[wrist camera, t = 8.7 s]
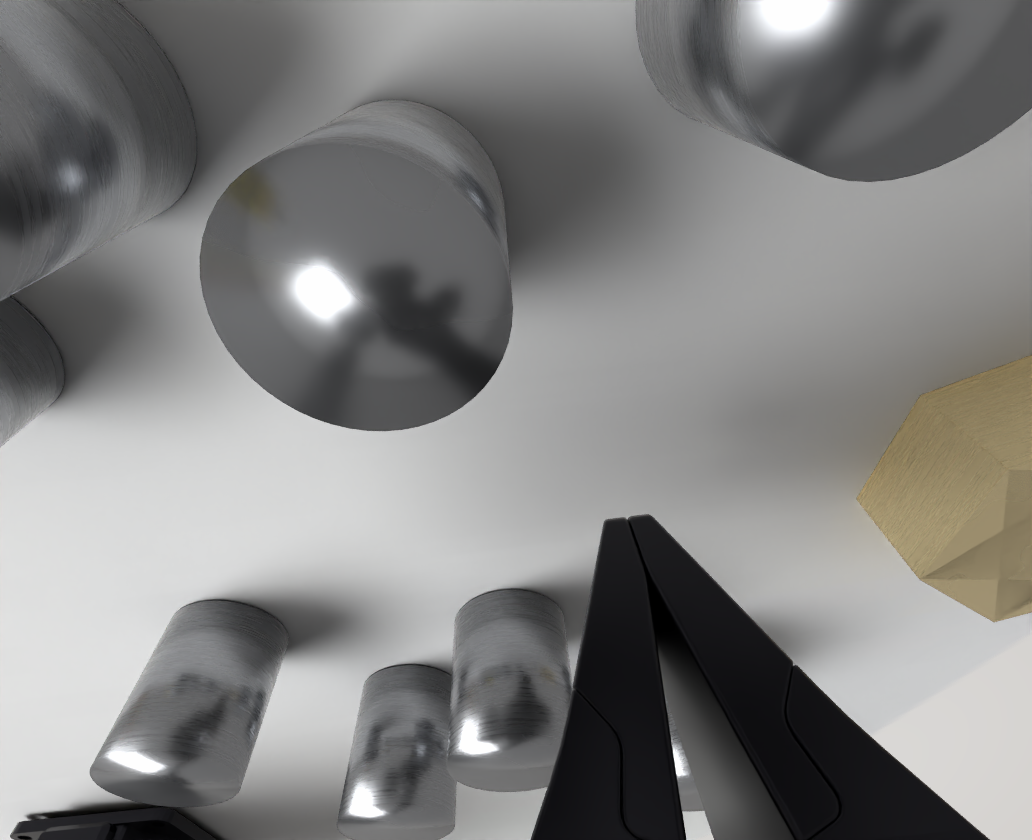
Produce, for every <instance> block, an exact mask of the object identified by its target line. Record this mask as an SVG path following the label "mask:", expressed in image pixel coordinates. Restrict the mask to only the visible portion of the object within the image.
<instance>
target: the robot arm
mask: <svg viewBox="0 0 1032 840" xmlns="http://www.w3.org/2000/svg"><path fill="white" fill-rule="evenodd" d="M664 693H665V694H664ZM665 696H666V699H667V702H668V705H669V708H670V711H671V714H672V717H673V719H674V722H675V725H676V728H677V731H678V734H679V737H680V740H681V743H682V746H683V749H684V752H685V755H686V758H687V761H688V764H689V767H690V770H691V773H692V776H693V778H694V781H695V784H696V787H697V790H698V793H699V796H700V799H701V802H702V805H703V808H704V811H705V814H706V817H707V820H708V823H709V826H710V829H711V832H712V835H713V837H714V840H990V839H988V838H987V837H986V836H985V835H984V834H982V833H981V832H980V831H979V830H978V829H976V828H975V827H974V826H973V825H972V824H971V823H970V822H968V821H967V820H966V819H965V818H964V817H963V816H961V815H960V814H959V813H958V812H957V811H956V810H954V809H953V808H952V807H951V806H950V805H949V804H948V803H946V802H945V801H944V800H943V799H942V798H941V797H939V796H938V795H937V794H936V793H935V792H934V791H933V790H931V789H930V788H929V787H928V786H927V785H926V784H925V783H923V782H922V781H921V780H920V779H919V778H918V777H916V776H915V775H914V774H913V773H912V772H911V771H909V770H908V769H907V768H906V767H905V766H904V765H903V764H901V763H900V762H899V761H898V760H897V759H896V758H894V757H893V756H892V755H891V754H890V753H888V752H887V751H886V750H885V749H884V748H883V747H881V745H879V744H878V743H877V742H876V741H875V740H874V739H873V738H872V737H871V736H870V735H868V734H867V733H866V732H865V731H864V730H863V729H862V728H861V727H860V726H858V725H857V724H856V723H855V722H854V721H853V720H852V719H851V718H849V717H848V716H847V715H846V714H845V713H844V712H843V711H842V710H841V709H840V708H839V707H838V706H837V705H836V704H835V703H834V702H833V701H832V700H831V699H830V698H829V697H828V696H827V695H826V694H825V693H824V692H823V691H822V690H821V689H820V688H819V687H818V686H817V685H816V684H815V683H814V682H813V681H812V680H811V679H810V678H809V677H808V676H807V675H806V674H805V673H804V672H803V671H802V670H801V669H800V668H799V667H798V666H797V665H794V666H793V661H792V660H791V659H790V658H789V657H788V656H787V655H786V653H785V652H784V651H783V650H782V649H781V648H780V647H779V646H778V645H777V644H776V643H775V642H774V641H773V640H772V639H771V638H770V637H769V636H768V635H767V634H766V633H765V632H764V631H763V630H762V629H761V628H760V627H759V626H758V625H757V624H756V623H755V622H754V621H753V619H752V618H751V617H750V616H749V615H748V614H747V613H746V612H745V611H744V610H743V609H742V608H741V607H740V606H739V605H738V604H737V603H736V602H735V601H734V600H733V599H732V598H731V597H730V596H729V595H728V594H727V593H726V592H725V591H724V590H723V589H722V588H721V586H720V585H719V584H718V583H717V582H716V581H715V580H714V579H713V578H712V577H711V576H710V575H709V574H708V573H707V572H706V571H705V570H704V569H703V568H702V567H701V566H700V565H699V564H698V563H697V562H696V561H695V560H694V559H693V558H692V557H691V556H690V555H689V554H688V552H687V551H686V550H685V549H684V548H683V547H682V546H681V545H680V544H679V543H678V542H677V541H676V540H675V539H674V538H673V537H672V536H671V535H670V534H669V533H668V532H667V531H666V530H665V529H664V528H663V527H662V526H661V525H660V524H659V523H658V522H657V521H656V520H655V518H653V517H652V516H651V515H649V514H645V515H637V516H631V517H629V518H628V520H627V519H626V518H624V517H621V518H613V519H607V520H605V521H604V524H603V529H602V534H601V540H600V545H599V550H598V555H597V561H596V566H595V571H594V576H593V582H592V587H591V592H590V597H589V603H588V608H587V613H586V619H585V624H584V629H583V634H582V640H581V645H580V650H579V655H578V661H577V666H576V671H575V676H574V682H573V690H572V691H571V696H570V701H569V707H568V712H567V717H566V721H565V725H564V730H563V734H562V739H561V743H560V747H559V751H558V754H557V758H556V761H555V764H554V768H553V771H552V775H551V778H550V782H549V785H548V788H547V791H546V794H545V797H544V800H543V803H542V806H541V809H540V812H539V815H538V818H537V821H536V825H535V828H534V831H533V834H532V837H531V840H686V834H685V828H684V821H683V814H682V808H681V801H680V794H679V787H678V781H677V774H676V767H675V761H674V754H673V747H672V741H671V734H670V727H669V721H668V714H667V707H666V701H665ZM10 837H11V838H12V839H14V840H216V839H215V838H213V837H212V836H211V835H209V834H208V833H206V832H205V831H203V830H202V829H201V828H199V827H198V826H196V825H195V824H193V823H192V822H190V821H189V820H188V819H186V818H185V817H183V816H182V815H180V814H179V813H178V812H176V811H174V810H172V809H168V808H149V809H139V810H129V811H119V812H110V813H100V814H90V815H80V816H70V817H60V818H51V819H41V820H31V821H22V822H19V823H17V825H16V827H15V828H14V830H13V832H12V833H11V835H10Z"/></svg>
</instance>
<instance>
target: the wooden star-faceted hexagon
mask: <svg viewBox="0 0 1032 840" xmlns="http://www.w3.org/2000/svg"><path fill="white" fill-rule="evenodd" d="M857 501H858V502H859V503H860V505H861V506H862V507H863V508H864V510H865V511H866V512H867V513H868V515H869V516H870V517H871V519H872V520H873V521H874V522H875V524H876V525H877V526H878V527H879V529H880V530H881V531H882V532H883V534H884V535H885V536H886V538H887V539H888V540H889V541H890V543H891V544H892V545H893V546H894V548H895V549H896V550H897V552H898V553H899V554H900V555H901V557H902V558H903V559H904V560H905V562H906V563H907V564H908V566H909V567H910V568H911V569H912V571H913V572H914V573H915V574H916V576H917V577H918V578H919V579H920V580H921V581H923V582H925V583H927V584H928V585H930V586H932V587H933V588H935V589H937V590H939V591H940V592H942V593H944V594H946V595H947V596H949V597H951V598H953V599H954V600H956V601H958V602H960V603H961V604H963V605H965V606H967V607H968V608H970V609H972V610H973V611H975V612H977V613H979V614H980V615H982V616H984V617H986V618H987V619H989V620H991V621H993V622H997V621H1001V620H1004V619H1008V618H1012V617H1016V616H1020V615H1023V614H1027V613H1031V612H1032V355H1030V356H1027V357H1025V358H1022V359H1019V360H1016V361H1014V362H1011V363H1008V364H1005V365H1003V366H1000V367H997V368H994V369H992V370H989V371H986V372H983V373H981V374H978V375H975V376H972V377H969V378H967V379H964V380H961V381H958V382H956V383H953V384H950V385H947V386H945V387H942V388H939V389H936V390H934V391H931V392H928V393H925V394H923V395H920V397H919V398H918V400H917V401H916V403H915V405H914V406H913V408H912V409H911V411H910V413H909V414H908V416H907V418H906V419H905V421H904V422H903V424H902V426H901V427H900V429H899V431H898V432H897V434H896V435H895V437H894V439H893V440H892V442H891V444H890V445H889V447H888V448H887V450H886V452H885V453H884V455H883V456H882V458H881V460H880V461H879V463H878V465H877V466H876V468H875V469H874V471H873V473H872V474H871V476H870V478H869V479H868V481H867V482H866V484H865V486H864V487H863V489H862V491H861V492H860V494H859V495H858V497H857Z"/></svg>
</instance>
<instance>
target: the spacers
mask: <svg viewBox="0 0 1032 840" xmlns="http://www.w3.org/2000/svg"><path fill="white" fill-rule="evenodd" d="M636 26H637V35H638V41H639V47H640V50H641V54H642V57H643V61H644V64H645V66H646V68H647V71H648V73H649V75H650V78H651V79H652V81H653V83H654V84H655V86H656V87H657V89H658V91H659V92H660V93H661V94H662V95H663V97H664V98H665V99H666V100H667V101H668V102H669V103H670V104H671V105H672V106H673V107H675V108H676V109H677V110H678V111H680V112H681V113H683V114H685V115H686V116H688V117H690V118H692V119H694V120H697V121H699V122H701V123H704V124H706V125H708V126H711V127H713V128H715V129H718V130H720V131H722V132H725V133H727V134H729V135H732V136H734V137H737V138H739V139H741V140H744V141H746V142H748V143H751V144H753V145H755V146H758V147H760V148H762V149H765V150H767V151H769V152H772V153H774V154H776V155H779V156H781V157H784V158H786V159H788V160H791V161H793V162H795V163H798V164H800V165H802V166H805V167H807V168H809V169H812V170H814V171H817V172H819V173H822V174H824V175H827V176H829V177H834V178H839V179H843V180H848V181H863V182H873V181H885V180H893V179H898V178H903V177H907V176H912V175H916V174H919V173H922V172H925V171H928V170H931V169H934V168H936V167H939V166H941V165H943V164H946V163H948V162H950V161H952V160H954V159H957V158H959V157H961V156H963V155H965V154H966V153H968V152H970V151H972V150H973V149H975V148H977V147H979V146H980V145H982V144H984V143H986V142H987V141H989V140H990V139H992V138H993V137H994V136H996V135H997V134H999V133H1000V132H1002V131H1003V130H1004V129H1006V128H1007V127H1009V126H1010V125H1012V124H1013V123H1014V122H1015V121H1017V120H1018V119H1019V118H1020V117H1021V116H1023V115H1024V114H1025V113H1026V112H1028V111H1029V110H1030V109H1031V108H1032V0H636ZM196 154H197V137H196V130H195V123H194V119H193V115H192V111H191V107H190V104H189V101H188V99H187V96H186V93H185V91H184V88H183V86H182V84H181V82H180V80H179V78H178V76H177V74H176V72H175V70H174V68H173V67H172V65H171V64H170V62H169V60H168V59H167V57H166V55H165V54H164V52H163V51H162V50H161V48H160V47H159V46H158V44H157V43H156V42H155V40H154V39H153V38H152V36H151V35H150V34H149V33H148V32H147V31H146V30H145V28H144V27H143V26H142V25H141V24H140V23H139V22H138V21H137V20H136V19H135V18H134V17H133V16H132V15H131V14H130V13H129V12H128V11H127V10H126V9H125V8H124V7H123V6H122V5H120V4H119V3H118V2H116V1H115V0H0V447H1V446H2V445H4V444H5V443H6V442H7V441H8V440H9V439H11V438H12V437H13V436H14V435H15V434H17V433H18V432H19V431H20V430H21V429H22V428H24V427H25V426H26V425H27V424H28V423H30V422H31V421H32V420H33V419H34V418H35V417H37V416H38V415H39V414H40V413H41V412H43V411H44V410H45V409H46V408H47V407H48V406H50V405H51V404H52V403H53V402H54V401H55V400H56V399H57V398H58V396H59V395H60V393H61V391H62V388H63V384H64V368H63V362H62V360H61V357H60V354H59V352H58V350H57V348H56V346H55V344H54V342H53V340H52V339H51V337H50V336H49V334H48V333H47V332H46V330H45V329H44V328H43V327H42V325H41V324H40V323H39V322H38V321H37V320H36V319H35V318H34V317H33V316H32V315H31V314H30V313H29V312H28V311H27V310H26V309H25V308H24V307H23V306H21V305H20V304H19V303H18V302H17V301H15V300H14V299H13V298H11V297H10V296H11V295H13V294H14V293H16V292H18V291H20V290H22V289H23V288H25V287H27V286H29V285H31V284H33V283H34V282H36V281H38V280H40V279H42V278H44V277H45V276H47V275H49V274H51V273H53V272H54V271H56V270H58V269H60V268H62V267H64V266H65V265H67V264H69V263H71V262H73V261H75V260H76V259H78V258H80V257H82V256H84V255H85V254H87V253H89V252H91V251H93V250H95V249H96V248H98V247H100V246H102V245H104V244H106V243H107V242H109V241H111V240H113V239H115V238H116V237H118V236H120V235H122V234H124V233H126V232H127V231H129V230H131V229H133V228H135V227H137V226H138V225H140V224H142V223H144V222H146V221H147V220H149V219H151V218H153V217H155V216H157V215H158V214H160V213H162V212H163V211H165V210H167V209H168V208H170V207H171V206H172V205H173V204H174V203H175V202H176V201H178V200H179V199H180V197H181V196H182V194H183V193H184V192H185V190H186V189H187V187H188V185H189V183H190V180H191V178H192V175H193V171H194V168H195V162H196ZM200 279H201V285H202V292H203V297H204V300H205V303H206V307H207V310H208V313H209V316H210V318H211V320H212V323H213V325H214V327H215V329H216V331H217V333H218V335H219V337H220V338H221V340H222V342H223V343H224V345H225V347H226V348H227V350H228V351H229V352H230V354H231V355H232V356H233V358H234V359H235V360H236V362H237V363H238V364H239V365H240V366H241V368H242V369H243V370H244V371H245V372H246V373H247V374H248V375H249V376H250V377H251V378H252V379H253V380H254V381H255V382H257V383H258V384H259V385H260V386H261V387H262V388H264V389H265V390H266V391H267V392H269V393H270V394H271V395H273V396H274V397H276V398H277V399H279V400H280V401H281V402H283V403H285V404H287V405H288V406H290V407H292V408H294V409H295V410H297V411H299V412H301V413H304V414H306V415H308V416H310V417H313V418H315V419H318V420H321V421H324V422H327V423H330V424H333V425H337V426H342V427H346V428H350V429H359V430H367V431H392V430H403V429H408V428H413V427H418V426H422V425H425V424H428V423H431V422H434V421H437V420H439V419H441V418H443V417H446V416H448V415H450V414H451V413H453V412H455V411H456V410H458V409H460V408H461V407H463V406H464V405H465V404H466V403H468V402H469V401H470V400H472V399H473V398H474V397H475V396H476V395H477V394H478V393H479V392H480V391H481V390H482V389H483V388H484V387H485V386H486V384H487V383H488V382H489V380H490V379H491V378H492V376H493V375H494V373H495V372H496V370H497V368H498V366H499V364H500V362H501V360H502V359H503V356H504V353H505V350H506V348H507V345H508V342H509V337H510V332H511V327H512V313H513V304H512V292H511V280H510V268H509V256H508V244H507V231H506V219H505V207H504V198H503V193H502V188H501V184H500V181H499V178H498V175H497V172H496V170H495V168H494V166H493V164H492V162H491V160H490V158H489V156H488V155H487V153H486V152H485V150H484V149H483V147H482V146H481V145H480V143H479V142H478V141H477V140H476V139H475V137H474V136H473V135H472V134H471V133H470V132H469V131H468V130H467V129H465V128H464V127H463V126H462V125H461V124H460V123H458V122H457V121H455V120H454V119H453V118H451V117H450V116H448V115H446V114H444V113H443V112H441V111H439V110H437V109H435V108H432V107H429V106H427V105H424V104H421V103H416V102H411V101H405V100H383V101H376V102H372V103H368V104H364V105H362V106H360V107H357V108H355V109H353V110H351V111H349V112H347V113H345V114H343V115H342V116H340V117H338V118H336V119H334V120H333V121H331V122H329V123H327V124H325V125H324V126H322V127H320V128H318V129H317V130H315V131H313V132H311V133H309V134H308V135H306V136H304V137H302V138H300V139H299V140H297V141H295V142H293V143H291V144H290V145H288V146H286V147H284V148H283V149H281V150H279V151H277V152H275V153H274V154H272V155H270V156H268V157H266V158H265V159H263V160H261V161H260V162H258V163H257V164H255V165H254V166H252V167H250V168H249V169H247V170H246V171H245V172H243V173H242V174H241V175H240V176H239V177H238V178H237V179H236V180H235V181H234V182H233V183H231V184H230V185H229V187H228V188H227V189H226V191H225V192H224V193H223V195H222V196H221V197H220V199H219V200H218V201H217V203H216V205H215V207H214V209H213V211H212V213H211V215H210V217H209V219H208V222H207V225H206V228H205V231H204V234H203V238H202V245H201V252H200ZM288 641H289V639H288V634H287V631H286V630H285V628H284V627H283V625H282V624H281V623H280V622H279V621H278V620H277V619H275V618H274V617H272V616H271V615H269V614H267V613H266V612H264V611H262V610H259V609H257V608H254V607H252V606H248V605H245V604H241V603H236V602H230V601H202V602H197V603H193V604H190V605H187V606H185V607H183V608H181V609H180V610H178V611H177V612H176V613H175V614H174V616H173V617H172V619H171V621H170V623H169V625H168V626H167V628H166V630H165V632H164V634H163V636H162V637H161V639H160V641H159V643H158V645H157V647H156V648H155V650H154V652H153V654H152V656H151V658H150V660H149V661H148V663H147V665H146V667H145V669H144V671H143V672H142V674H141V676H140V678H139V680H138V682H137V683H136V685H135V687H134V689H133V691H132V693H131V694H130V696H129V698H128V700H127V702H126V704H125V706H124V707H123V709H122V711H121V713H120V715H119V717H118V718H117V720H116V722H115V724H114V726H113V728H112V729H111V731H110V733H109V735H108V737H107V739H106V741H105V742H104V744H103V746H102V748H101V750H100V752H99V753H98V755H97V757H96V759H95V761H94V763H93V764H92V766H91V769H90V776H91V778H92V780H93V781H94V782H95V783H96V784H97V785H98V786H100V787H101V788H103V789H104V790H106V791H108V792H110V793H112V794H114V795H117V796H120V797H122V798H126V799H129V800H132V801H136V802H141V803H146V804H151V805H158V806H168V807H199V806H208V805H213V804H218V803H221V802H224V801H227V800H229V799H231V798H233V797H234V796H235V795H236V794H237V793H238V792H239V790H240V788H241V785H242V782H243V779H244V776H245V773H246V770H247V767H248V763H249V760H250V757H251V754H252V751H253V748H254V745H255V742H256V739H257V736H258V733H259V730H260V727H261V724H262V721H263V718H264V715H265V712H266V709H267V706H268V703H269V700H270V697H271V694H272V691H273V688H274V685H275V682H276V679H277V676H278V673H279V670H280V667H281V664H282V661H283V658H284V655H285V652H286V648H287V645H288ZM572 690H573V687H572V679H571V671H570V663H569V655H568V647H567V639H566V631H565V623H564V616H563V613H562V611H561V609H560V608H559V606H558V605H557V604H556V603H555V602H553V601H552V600H550V599H549V598H547V597H545V596H543V595H540V594H537V593H534V592H529V591H523V590H501V591H495V592H491V593H487V594H484V595H481V596H479V597H476V598H474V599H472V600H471V601H469V602H468V603H466V604H465V605H464V606H463V607H462V608H461V609H460V611H459V612H458V614H457V616H456V619H455V630H454V647H453V664H452V676H451V675H449V674H447V673H445V672H443V671H441V670H438V669H435V668H431V667H426V666H416V665H404V666H395V667H390V668H386V669H383V670H381V671H378V672H376V673H375V674H373V675H371V676H370V677H369V678H368V679H367V680H366V682H365V684H364V687H363V692H362V697H361V702H360V707H359V713H358V718H357V723H356V728H355V733H354V738H353V744H352V749H351V754H350V759H349V764H348V769H347V775H346V780H345V785H344V790H343V795H342V801H341V806H340V811H339V816H338V821H337V828H338V830H339V831H340V832H341V833H342V834H343V835H345V836H346V837H348V838H351V839H353V840H438V839H441V838H443V837H445V836H447V835H448V834H450V833H451V832H452V831H453V829H454V827H455V807H456V785H457V781H458V782H460V783H462V784H464V785H467V786H469V787H473V788H476V789H481V790H487V791H497V792H518V791H528V790H534V789H540V788H544V787H548V785H549V782H550V778H551V775H552V771H553V768H554V764H555V761H556V758H557V754H558V751H559V747H560V743H561V739H562V734H563V730H564V725H565V721H566V717H567V712H568V707H569V701H570V696H571V691H572ZM664 694H665V693H664ZM665 701H666V707H667V714H668V721H669V727H670V734H671V741H672V747H673V754H674V761H675V767H676V774H677V781H678V787H679V794H680V801H681V808H682V811H704V808H703V805H702V802H701V799H700V796H699V793H698V790H697V787H696V784H695V781H694V778H693V776H692V773H691V770H690V767H689V764H688V761H687V758H686V755H685V752H684V749H683V746H682V743H681V740H680V737H679V734H678V731H677V728H676V725H675V722H674V719H673V717H672V714H671V711H670V708H669V705H668V702H667V699H666V696H665Z"/></svg>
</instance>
